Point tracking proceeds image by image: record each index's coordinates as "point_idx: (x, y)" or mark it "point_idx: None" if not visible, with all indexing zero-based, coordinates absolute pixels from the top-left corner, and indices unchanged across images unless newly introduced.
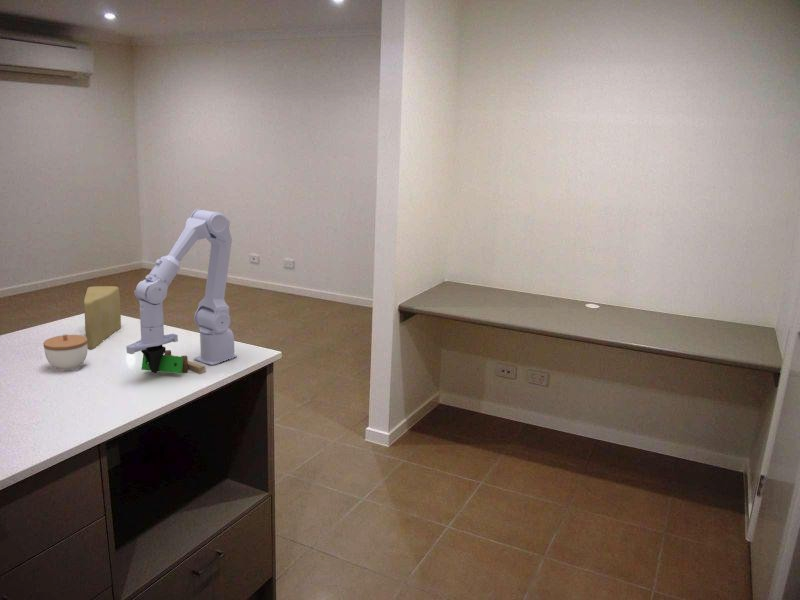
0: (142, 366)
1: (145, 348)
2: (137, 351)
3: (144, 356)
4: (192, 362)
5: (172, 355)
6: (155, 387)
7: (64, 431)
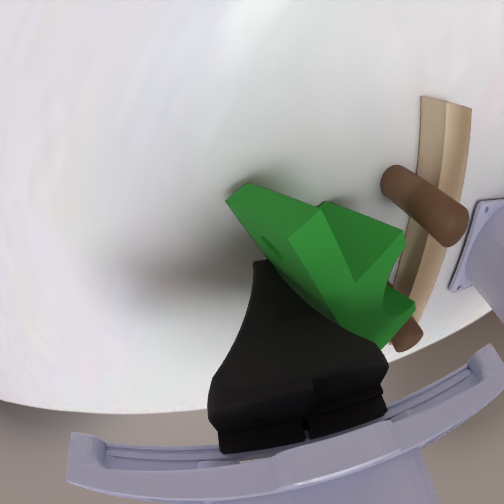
0: (236, 210)
1: (221, 455)
2: (147, 451)
3: (279, 238)
4: (428, 291)
5: (465, 152)
6: (200, 351)
7: (7, 378)
